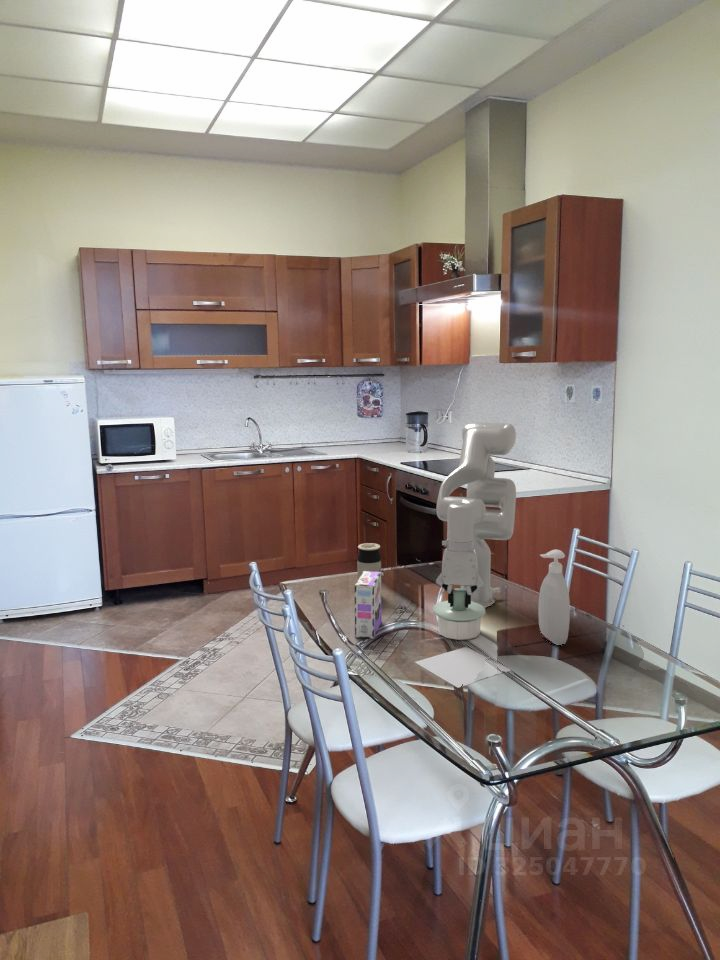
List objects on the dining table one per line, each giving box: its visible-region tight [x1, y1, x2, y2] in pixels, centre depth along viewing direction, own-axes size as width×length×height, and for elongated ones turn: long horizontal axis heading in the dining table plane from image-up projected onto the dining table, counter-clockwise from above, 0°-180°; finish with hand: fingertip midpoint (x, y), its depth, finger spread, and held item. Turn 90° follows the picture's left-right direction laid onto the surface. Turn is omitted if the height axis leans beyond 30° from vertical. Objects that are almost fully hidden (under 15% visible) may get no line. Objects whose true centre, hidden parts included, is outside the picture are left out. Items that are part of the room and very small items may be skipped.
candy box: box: [354, 571, 383, 639], centre depth 220 cm, size 14×6×16 cm, turn 168°
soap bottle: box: [537, 548, 571, 646], centre depth 210 cm, size 14×8×27 cm, turn 14°
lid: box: [433, 587, 486, 621], centre depth 216 cm, size 15×15×6 cm
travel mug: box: [356, 542, 382, 580], centre depth 249 cm, size 8×8×18 cm
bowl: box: [437, 616, 482, 641], centre depth 217 cm, size 12×12×6 cm
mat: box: [414, 646, 512, 689], centre depth 195 cm, size 18×18×1 cm
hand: (459, 605), depth 216 cm, fingers closed on lid, 3 cm apart
